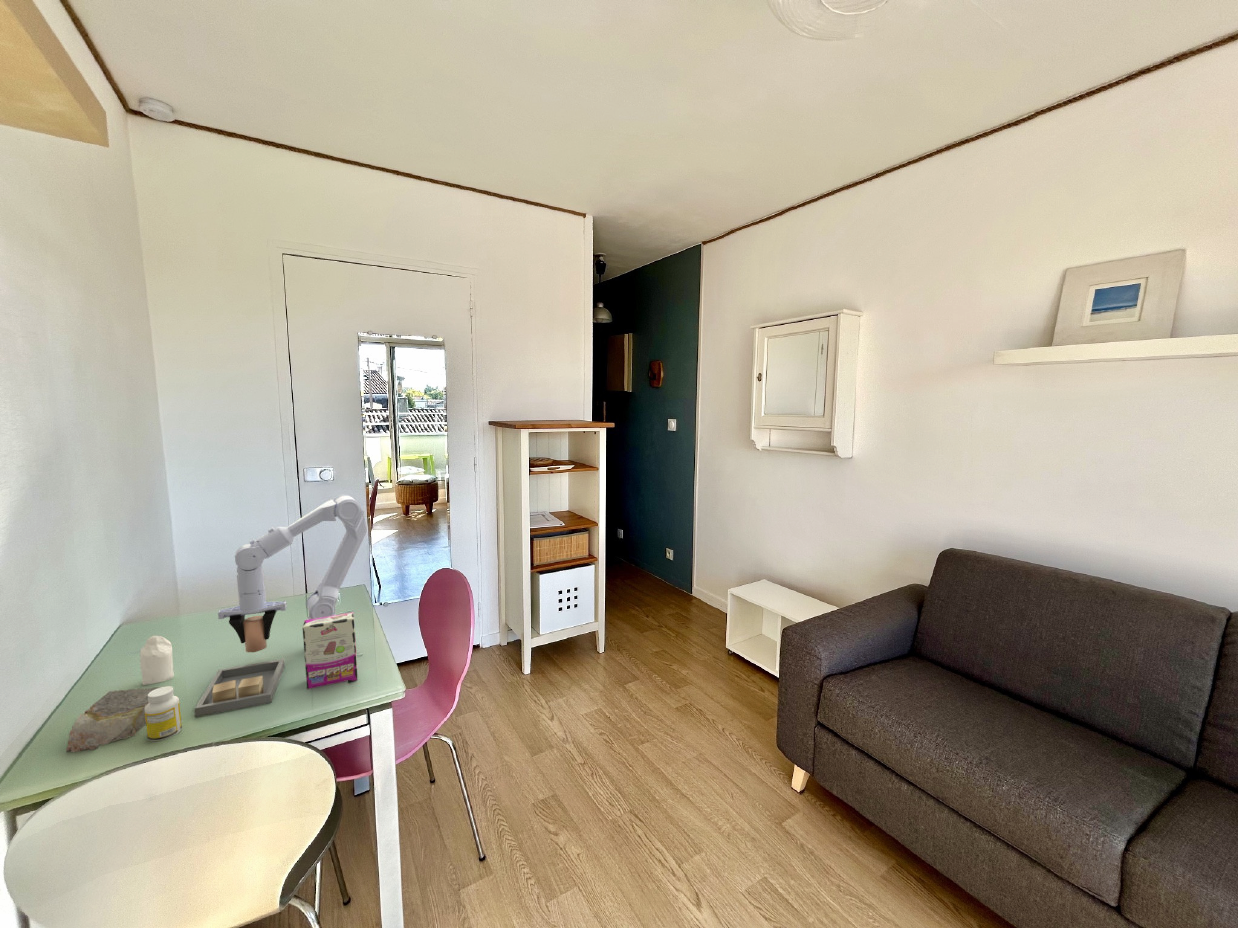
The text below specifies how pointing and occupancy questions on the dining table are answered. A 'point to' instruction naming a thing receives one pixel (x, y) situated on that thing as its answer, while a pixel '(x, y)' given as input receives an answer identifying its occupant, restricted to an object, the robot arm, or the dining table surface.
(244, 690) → the beech block
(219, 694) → the beech block
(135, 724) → the geological specimen
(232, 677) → the tray
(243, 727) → the dining table surface
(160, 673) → the white sack
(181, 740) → the dining table surface
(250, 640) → the flesh-toned capsule
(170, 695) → the supplement bottle
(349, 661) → the candy bar box
